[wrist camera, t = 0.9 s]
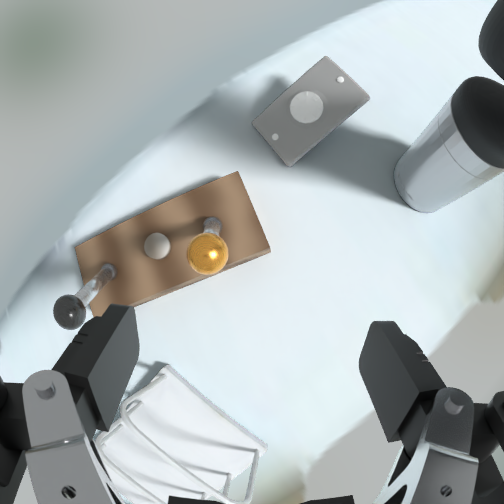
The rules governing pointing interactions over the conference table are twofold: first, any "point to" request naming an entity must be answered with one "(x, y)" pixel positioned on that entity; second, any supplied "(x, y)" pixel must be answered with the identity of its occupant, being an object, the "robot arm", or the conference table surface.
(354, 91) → the light switch
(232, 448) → the file sorter
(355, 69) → the conference table surface
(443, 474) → the robot arm
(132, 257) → the switch panel
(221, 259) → the lever orange
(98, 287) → the lever black
